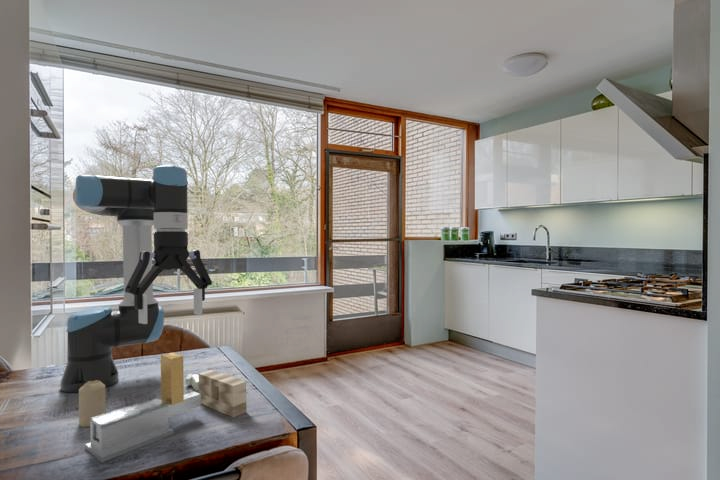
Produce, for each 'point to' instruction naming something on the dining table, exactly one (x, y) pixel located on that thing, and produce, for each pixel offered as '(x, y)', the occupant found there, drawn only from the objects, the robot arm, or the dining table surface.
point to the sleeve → (128, 429)
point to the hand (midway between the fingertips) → (172, 318)
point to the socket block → (222, 392)
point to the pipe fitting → (192, 381)
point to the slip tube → (174, 387)
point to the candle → (91, 401)
